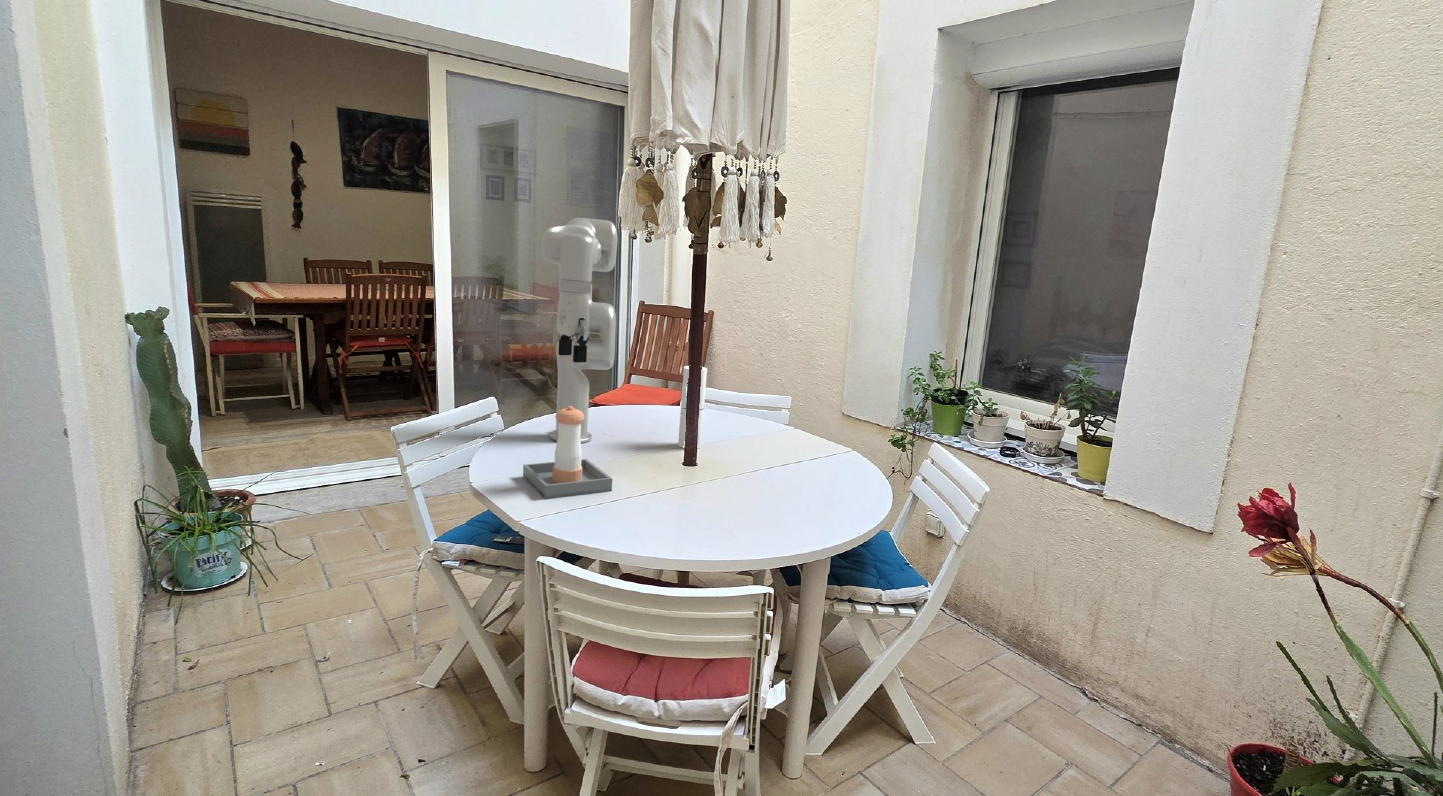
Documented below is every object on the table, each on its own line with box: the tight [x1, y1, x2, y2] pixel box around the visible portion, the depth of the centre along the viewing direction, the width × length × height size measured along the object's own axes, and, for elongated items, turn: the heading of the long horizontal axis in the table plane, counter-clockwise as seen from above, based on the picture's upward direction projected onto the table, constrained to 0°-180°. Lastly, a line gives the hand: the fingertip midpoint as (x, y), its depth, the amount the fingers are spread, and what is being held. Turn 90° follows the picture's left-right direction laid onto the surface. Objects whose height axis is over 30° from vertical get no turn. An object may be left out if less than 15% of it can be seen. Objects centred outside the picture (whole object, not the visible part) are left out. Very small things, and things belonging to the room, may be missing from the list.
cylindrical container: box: [677, 365, 708, 449], centre depth 217 cm, size 7×7×25 cm
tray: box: [522, 458, 613, 500], centre depth 176 cm, size 17×17×3 cm
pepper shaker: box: [552, 406, 584, 483], centre depth 175 cm, size 7×7×19 cm
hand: (572, 358), depth 170 cm, fingers open, 9 cm apart
